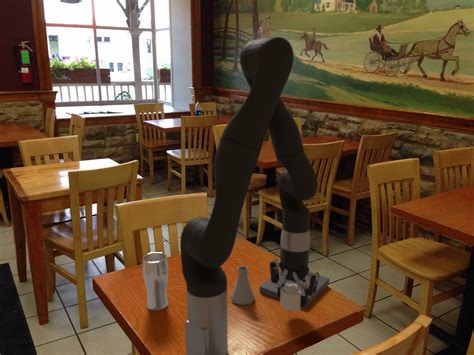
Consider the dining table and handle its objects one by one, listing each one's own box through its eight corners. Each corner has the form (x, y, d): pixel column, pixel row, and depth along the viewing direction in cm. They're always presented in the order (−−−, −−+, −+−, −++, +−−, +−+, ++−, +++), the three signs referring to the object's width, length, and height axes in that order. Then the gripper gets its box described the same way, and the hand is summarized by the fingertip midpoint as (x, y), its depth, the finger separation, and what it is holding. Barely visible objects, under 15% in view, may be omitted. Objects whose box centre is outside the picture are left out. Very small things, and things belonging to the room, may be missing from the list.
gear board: (304, 308, 116) (304, 291, 114) (259, 292, 124) (259, 275, 123) (329, 283, 129) (330, 268, 127) (287, 270, 137) (287, 255, 136)
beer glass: (145, 313, 114) (142, 264, 110) (144, 300, 120) (141, 253, 116) (171, 309, 115) (168, 260, 112) (168, 296, 122) (166, 250, 118)
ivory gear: (296, 313, 107) (297, 297, 106) (276, 305, 110) (277, 290, 109) (307, 303, 112) (308, 288, 110) (287, 296, 115) (288, 281, 114)
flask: (252, 307, 116) (253, 275, 114) (228, 304, 118) (227, 272, 115) (256, 293, 123) (257, 263, 121) (233, 291, 125) (233, 261, 122)
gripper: (264, 242, 108) (262, 299, 112) (313, 256, 100) (309, 318, 104) (278, 233, 114) (276, 288, 118) (326, 246, 105) (322, 305, 110)
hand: (292, 302), depth 111 cm, fingers closed on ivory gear, 6 cm apart
